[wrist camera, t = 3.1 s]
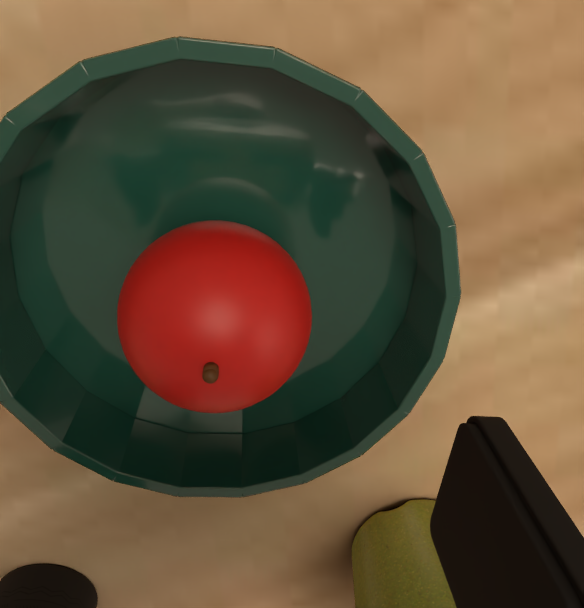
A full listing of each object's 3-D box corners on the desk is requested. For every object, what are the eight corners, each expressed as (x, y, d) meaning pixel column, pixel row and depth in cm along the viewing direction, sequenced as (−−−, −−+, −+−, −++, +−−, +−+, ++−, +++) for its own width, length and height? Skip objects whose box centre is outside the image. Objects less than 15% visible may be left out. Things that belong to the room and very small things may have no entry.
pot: (32, 430, 21) (-6, 496, 18) (-34, 15, 14) (-111, 4, 11) (385, 437, 23) (407, 499, 20) (467, 69, 16) (520, 73, 13)
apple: (140, 345, 19) (96, 467, 13) (134, 191, 17) (76, 263, 11) (294, 351, 20) (312, 470, 14) (310, 205, 17) (342, 278, 12)
